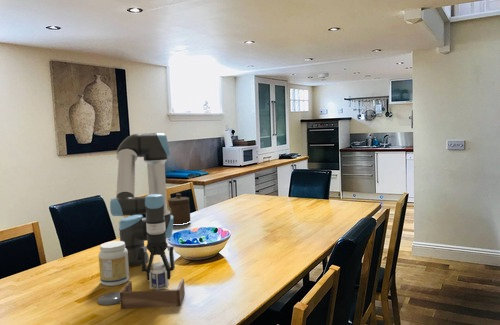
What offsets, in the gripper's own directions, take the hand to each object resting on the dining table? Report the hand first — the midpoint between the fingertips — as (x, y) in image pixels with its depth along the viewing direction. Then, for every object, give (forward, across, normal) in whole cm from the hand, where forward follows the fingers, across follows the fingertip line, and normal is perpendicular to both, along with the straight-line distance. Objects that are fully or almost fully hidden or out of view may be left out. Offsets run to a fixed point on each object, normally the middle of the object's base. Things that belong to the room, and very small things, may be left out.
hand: (159, 286), depth 164 cm
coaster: (+1, -17, -8) cm, 19 cm away
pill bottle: (0, 0, 0) cm, 1 cm away
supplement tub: (+1, -22, +11) cm, 25 cm away
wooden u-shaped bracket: (+1, 0, -11) cm, 11 cm away
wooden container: (+2, -10, +118) cm, 119 cm away
